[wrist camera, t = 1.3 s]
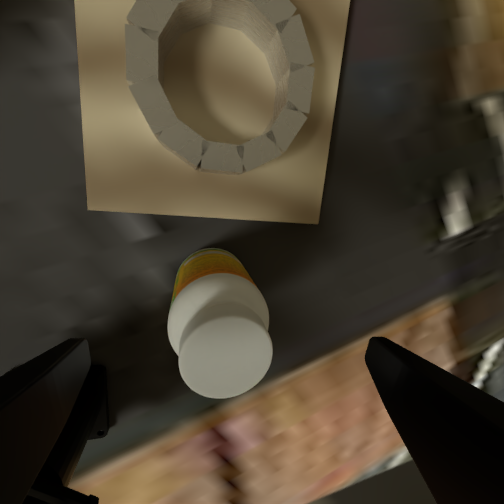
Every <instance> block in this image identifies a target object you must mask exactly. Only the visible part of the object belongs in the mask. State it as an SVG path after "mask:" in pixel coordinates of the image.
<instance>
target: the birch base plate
mask: <svg viewBox="0 0 504 504" xmlns="http://www.w3.org/2000/svg"><path fill="white" fill-rule="evenodd" d="M74 2H75V18H76V33H77V49H78V65H79V80H80V96H81V111H82V127H83V143H84V158H85V174H86V190H87V205H88V210H97V211H113V212H129V213H145V214H161V215H178V216H194V217H210V218H226V219H242V220H258V221H274V222H290V223H306V224H318V222H319V215H320V208H321V201H322V194H323V187H324V180H325V173H326V166H327V159H328V152H329V145H330V138H331V131H332V124H333V117H334V110H335V103H336V96H337V89H338V82H339V75H340V68H341V62H342V55H343V48H344V41H345V34H346V27H347V20H348V13H349V6H350V0H290V2H291V3H292V4H293V5H294V6H295V7H296V8H297V9H296V11H295V13H294V14H293V16H295V15H298V14H300V17H301V20H302V23H303V26H304V30H305V33H306V36H307V40H308V43H309V46H310V49H311V53H312V56H313V59H314V63H313V64H312V65H311V66H310V67H314V68H315V70H314V79H313V87H312V95H311V103H310V111H309V114H307V115H306V117H307V120H306V121H305V123H304V124H303V126H302V127H301V129H300V130H299V132H298V133H297V135H296V136H295V138H294V139H293V141H292V142H291V144H290V145H289V147H288V148H287V150H286V151H285V152H284V153H282V154H281V156H279V157H277V158H275V159H272V160H270V161H268V162H266V163H264V164H262V165H260V166H258V167H256V168H254V169H252V170H250V171H248V172H245V173H243V174H240V175H239V174H238V175H226V174H216V173H207V172H200V165H199V166H198V168H197V170H195V169H194V168H192V167H191V166H189V165H188V164H187V163H185V162H184V161H182V160H181V159H179V158H178V157H177V156H175V155H174V154H172V153H171V152H170V151H168V150H167V149H165V148H164V147H163V146H162V145H161V143H159V141H158V140H157V138H156V137H155V135H154V134H153V132H152V130H151V128H150V126H149V125H148V123H147V121H146V119H145V117H144V115H143V113H142V112H141V110H140V108H139V106H138V104H137V102H136V100H135V98H134V97H133V95H132V93H131V91H130V89H129V87H128V86H130V85H129V84H128V82H127V80H126V49H125V24H129V23H128V21H127V18H126V17H127V15H128V14H129V12H130V10H131V9H132V7H133V5H134V3H135V2H136V0H74ZM293 16H292V17H293ZM275 90H276V85H275V82H274V79H273V76H272V73H271V71H270V68H269V65H268V62H267V59H266V57H265V54H264V53H263V52H262V51H261V50H260V49H259V48H258V47H257V46H256V45H255V44H254V43H253V42H252V41H251V40H250V39H249V38H248V37H247V36H246V35H245V34H243V33H242V32H241V31H240V30H236V29H232V28H228V27H224V26H220V25H216V24H212V23H208V24H206V25H204V26H201V27H199V28H196V29H194V30H191V31H189V32H186V33H184V34H182V35H181V36H180V37H179V39H178V41H177V42H176V44H175V46H174V47H173V49H172V51H171V52H170V54H169V55H168V57H167V59H166V60H165V62H164V93H165V95H166V97H167V99H168V101H169V103H170V105H171V107H172V109H173V111H174V113H175V115H176V117H177V118H178V119H179V120H180V121H182V122H183V123H184V124H186V125H187V126H188V127H190V128H191V129H192V130H193V131H195V132H196V133H197V134H199V135H200V136H201V137H203V138H204V139H205V140H207V141H212V142H220V143H227V144H234V145H241V144H243V143H246V142H248V141H250V140H252V139H254V138H256V137H258V136H260V135H261V134H262V133H263V131H264V130H265V128H266V127H267V125H268V124H269V122H270V121H271V119H272V117H273V111H274V101H275Z"/></svg>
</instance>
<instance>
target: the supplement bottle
mask: <svg viewBox="0 0 504 504" xmlns="http://www.w3.org/2000/svg"><path fill="white" fill-rule="evenodd" d="M268 327H269V312H268V307H267V304H266V302H265V299H264V298H263V296H262V294H261V292H260V291H259V289H258V288H257V286H256V285H255V283H254V282H253V280H252V279H251V277H250V276H249V274H248V273H247V271H246V270H245V268H244V267H243V265H242V263H241V262H240V261H239V260H238V259H237V258H236V257H235V256H234V255H233V254H231V253H230V252H228V251H225V250H223V249H218V248H207V249H202V250H199V251H197V252H195V253H193V254H191V255H190V256H189V257H188V258H186V259H185V260H184V262H183V263H182V264H181V266H180V268H179V270H178V272H177V276H176V280H175V286H174V291H173V296H172V301H171V306H170V311H169V316H168V326H167V329H168V336H169V341H170V343H171V346H172V348H173V349H174V351H175V352H176V354H177V355H178V356H179V370H180V374H181V376H182V378H183V380H184V381H185V383H186V384H187V385H188V386H189V387H190V388H191V389H192V390H193V391H195V392H196V393H198V394H200V395H203V396H205V397H210V398H229V397H234V396H237V395H239V394H242V393H244V392H246V391H248V390H249V389H251V388H252V387H254V386H255V385H256V384H257V383H258V382H259V381H260V380H261V379H262V378H263V377H264V375H265V374H266V372H267V371H268V369H269V366H270V364H271V361H272V355H273V347H272V341H271V338H270V336H269V333H268Z"/></svg>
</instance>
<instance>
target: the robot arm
mask: <svg viewBox="0 0 504 504" xmlns="http://www.w3.org/2000/svg"><path fill="white" fill-rule="evenodd" d="M365 362H366V365H367V367H368V370H369V372H370V374H371V376H372V379H373V381H374V383H375V386H376V388H377V390H378V393H379V395H380V397H381V399H382V402H383V404H384V406H385V408H386V410H387V412H388V414H389V416H390V418H391V420H392V422H393V423H394V425H395V427H396V429H397V431H398V433H399V434H400V436H401V438H402V440H403V442H404V444H405V446H406V447H407V449H408V451H409V453H410V455H411V457H412V458H413V460H414V462H415V464H416V466H417V468H418V469H419V471H420V473H421V475H422V477H423V479H424V481H425V482H426V484H427V486H428V488H429V490H430V492H431V494H432V495H433V497H434V499H435V501H436V503H437V504H504V402H502V401H500V400H498V399H497V398H495V397H493V396H491V395H489V394H487V393H486V392H484V391H482V390H480V389H478V388H477V387H475V386H473V385H471V384H469V383H467V382H466V381H464V380H462V379H460V378H458V377H456V376H455V375H453V374H451V373H449V372H447V371H445V370H444V369H442V368H440V367H438V366H436V365H435V364H433V363H431V362H429V361H427V360H425V359H424V358H422V357H420V356H418V355H416V354H414V353H413V352H411V351H409V350H407V349H405V348H403V347H402V346H400V345H398V344H396V343H394V342H392V341H391V340H389V339H387V338H385V337H372V338H371V339H370V340H369V344H368V347H367V350H366V354H365ZM95 371H99V372H100V373H96V372H95ZM100 430H102V431H100ZM108 430H109V415H108V397H107V379H106V368H105V367H104V366H103V365H91V357H90V351H89V346H88V341H87V340H86V339H85V338H70V339H68V340H66V341H64V342H62V343H61V344H59V345H57V346H55V347H53V348H52V349H50V350H48V351H46V352H44V353H42V354H41V355H39V356H37V357H35V358H33V359H32V360H30V361H28V362H26V363H24V364H23V365H21V366H19V367H17V368H15V369H14V370H12V371H8V372H6V373H5V374H4V375H3V376H1V377H0V504H98V502H99V498H98V497H96V496H94V495H91V494H90V495H89V496H87V495H85V494H83V493H80V492H78V491H75V490H73V489H70V488H68V485H69V482H70V480H71V478H72V475H73V473H74V471H75V468H76V466H77V464H78V461H79V459H80V457H81V454H82V452H83V450H84V447H85V445H86V443H87V440H90V439H98V438H103V437H105V436H106V435H107V433H108Z"/></svg>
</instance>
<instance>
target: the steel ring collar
mask: <svg viewBox="0 0 504 504" xmlns="http://www.w3.org/2000/svg"><path fill="white" fill-rule="evenodd" d="M296 9H297V8H296V7H295V6H294V5H293V4H292V3H291V2H290V0H136V2H135V3H134V5H133V7H132V9H131V10H130V12H129V14H128V15H127V17H126V18H127V21H128V23H129V24H125V49H126V80H127V82H128V84H129V85H130V86H128V87H129V89H130V91H131V93H132V95H133V97H134V98H135V100H136V102H137V104H138V106H139V108H140V110H141V112H142V113H143V115H144V117H145V119H146V121H147V123H148V125H149V126H150V128H151V130H152V132H153V134H154V135H155V137H156V138H157V140H158V141H159V143H161V145H162V146H163V147H164V148H165V149H167V150H168V151H170V152H171V153H172V154H174V155H175V156H177V157H178V158H179V159H181V160H182V161H184V162H185V163H187V164H188V165H189V166H191V167H192V168H194V169H195V170H197V168H198V166H199V165H200V172H207V173H216V174H226V175H238V174H239V175H240V174H243V173H245V172H248V171H250V170H252V169H254V168H256V167H258V166H260V165H262V164H264V163H266V162H268V161H270V160H272V159H275V158H277V157H279V156H281V154H282V153H284V152H285V151H286V150H287V148H288V147H289V145H290V144H291V142H292V141H293V139H294V138H295V136H296V135H297V133H298V132H299V130H300V129H301V127H302V126H303V124H304V123H305V121H306V120H307V117H306V115H307V114H309V111H310V103H311V95H312V87H313V79H314V70H315V68H314V67H310V66H311V65H312V64H313V63H314V59H313V56H312V53H311V49H310V46H309V43H308V40H307V36H306V33H305V30H304V26H303V23H302V20H301V17H300V14H298V15H295V16H293V14H294V13H295V11H296ZM292 16H293V17H292ZM208 23H212V24H216V25H220V26H224V27H228V28H232V29H236V30H240V31H241V32H242V33H243V34H245V35H246V36H247V37H248V38H249V39H250V40H251V41H252V42H253V43H254V44H255V45H256V46H257V47H258V48H259V49H260V50H261V51H262V52H263V53H264V54H265V57H266V59H267V62H268V65H269V68H270V71H271V73H272V76H273V79H274V82H275V85H276V90H275V101H274V111H273V117H272V119H271V121H270V122H269V124H268V125H267V127H266V128H265V130H264V131H263V133H262V134H261V135H260V136H258V137H256V138H254V139H252V140H250V141H248V142H246V143H243V144H241V145H234V144H227V143H220V142H212V141H207V140H205V139H204V138H203V137H201V136H200V135H199V134H197V133H196V132H195V131H193V130H192V129H191V128H190V127H188V126H187V125H186V124H184V123H183V122H182V121H180V120H179V119H178V118H177V117H176V115H175V113H174V111H173V109H172V107H171V105H170V103H169V101H168V99H167V97H166V95H165V93H164V62H165V60H166V59H167V57H168V55H169V54H170V52H171V51H172V49H173V47H174V46H175V44H176V42H177V41H178V39H179V37H180V36H181V35H182V34H184V33H186V32H189V31H191V30H194V29H196V28H199V27H201V26H204V25H206V24H208Z"/></svg>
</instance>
